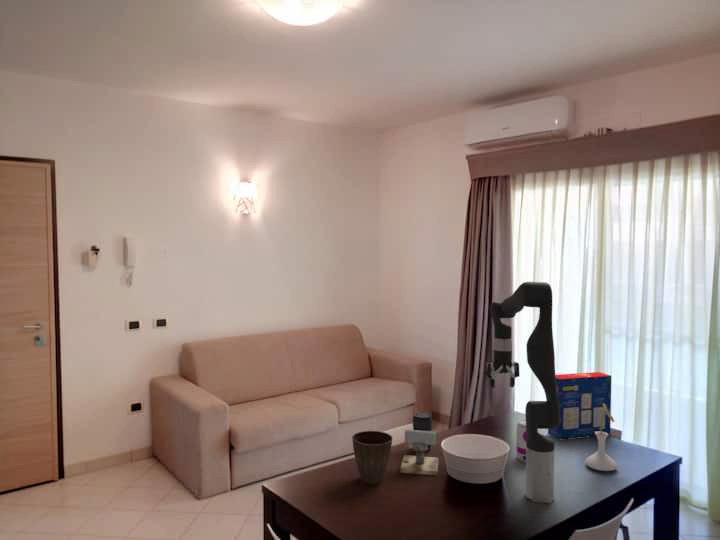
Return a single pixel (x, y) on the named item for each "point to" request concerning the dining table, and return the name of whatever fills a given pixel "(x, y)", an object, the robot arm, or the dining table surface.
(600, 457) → the flower in vase
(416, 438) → the collar
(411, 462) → the post base
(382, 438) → the plant pot
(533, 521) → the dining table surface
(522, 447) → the supplement can
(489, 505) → the dining table surface
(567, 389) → the blue product box
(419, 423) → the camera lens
